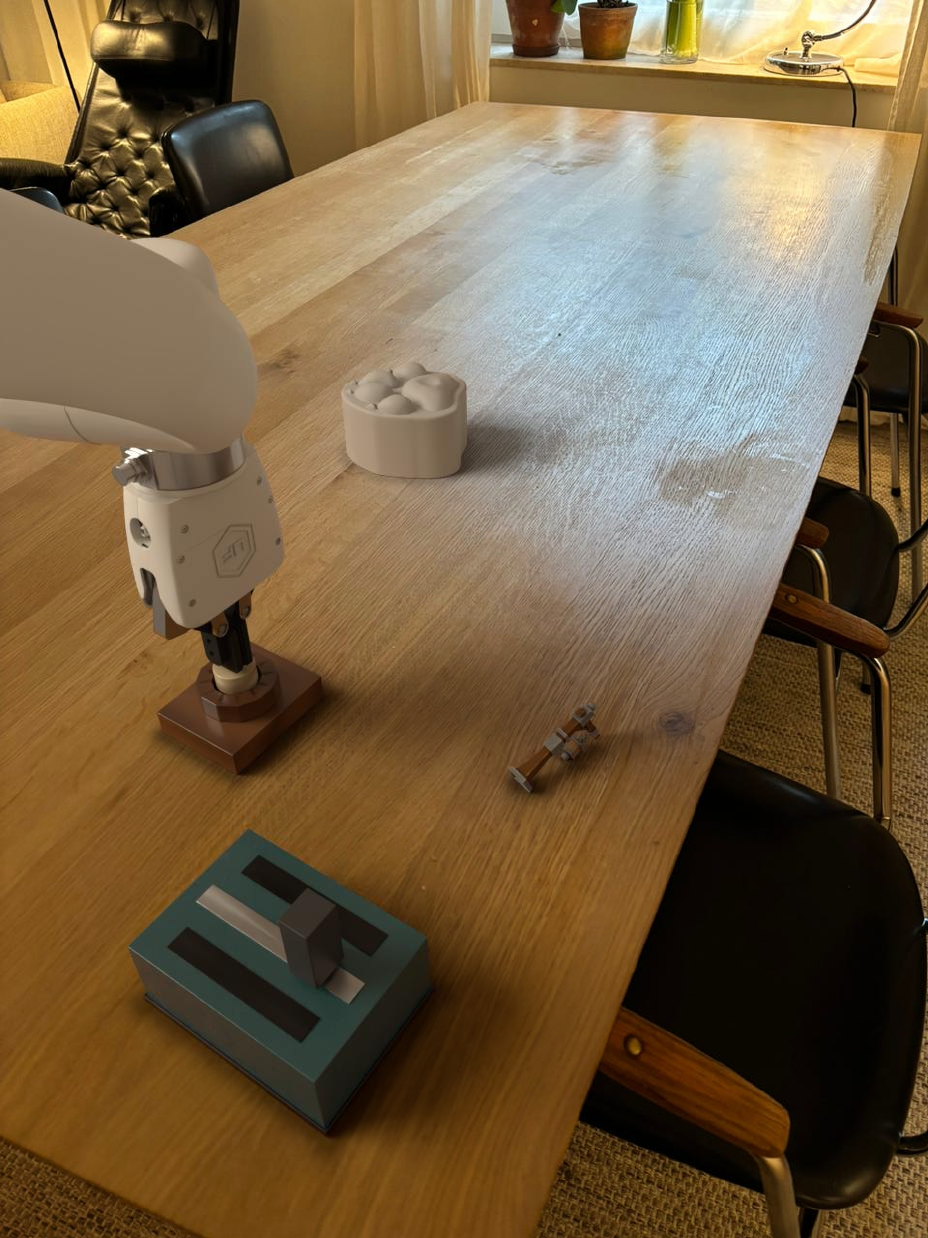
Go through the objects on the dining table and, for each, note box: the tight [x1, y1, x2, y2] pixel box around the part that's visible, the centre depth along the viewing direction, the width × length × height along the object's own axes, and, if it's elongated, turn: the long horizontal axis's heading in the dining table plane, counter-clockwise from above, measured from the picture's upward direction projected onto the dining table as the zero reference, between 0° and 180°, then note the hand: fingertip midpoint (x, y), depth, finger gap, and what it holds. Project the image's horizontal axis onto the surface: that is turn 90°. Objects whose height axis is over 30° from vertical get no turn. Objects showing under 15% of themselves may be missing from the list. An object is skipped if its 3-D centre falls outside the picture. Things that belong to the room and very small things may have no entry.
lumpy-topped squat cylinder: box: [340, 361, 468, 480], centre depth 106 cm, size 10×13×9 cm
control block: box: [156, 640, 325, 776], centre depth 77 cm, size 10×8×4 cm
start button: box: [213, 657, 258, 695], centre depth 76 cm, size 3×3×2 cm
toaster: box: [127, 828, 437, 1138], centre depth 59 cm, size 10×14×6 cm
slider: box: [278, 888, 344, 990], centre depth 53 cm, size 2×2×5 cm
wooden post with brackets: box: [506, 701, 601, 793], centre depth 74 cm, size 2×8×4 cm, turn 127°
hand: (230, 660), depth 75 cm, fingers closed
